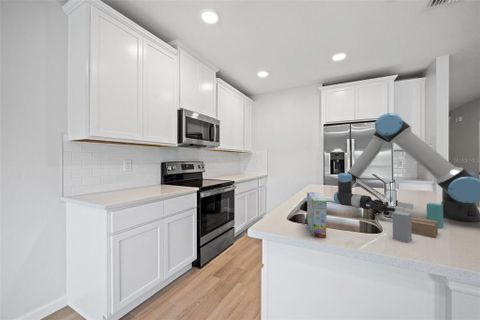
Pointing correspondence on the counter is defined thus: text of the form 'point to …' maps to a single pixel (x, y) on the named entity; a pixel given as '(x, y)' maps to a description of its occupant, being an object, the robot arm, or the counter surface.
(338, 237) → the counter surface
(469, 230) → the counter surface
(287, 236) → the counter surface
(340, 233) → the counter surface
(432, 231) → the walnut block
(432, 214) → the teal pillar
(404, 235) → the grey pillar
